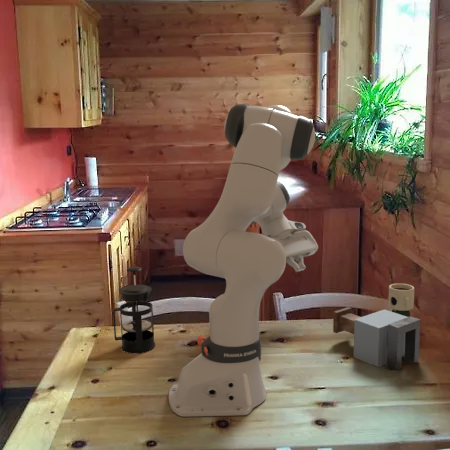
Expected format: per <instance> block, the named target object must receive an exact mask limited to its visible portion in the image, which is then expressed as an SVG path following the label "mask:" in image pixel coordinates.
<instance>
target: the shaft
mask: <svg viewBox="0 0 450 450" xmlns="http://www.w3.org/2000/svg"><path fill="white" fill-rule="evenodd" d="M360 317H361V316H359V315H356V314H354V313H352V307H349V306H348V307H345V308H342V309H337V310H335V311H333V320H332V321H333V323H332V324H333V326H332V330H333V331H332V332H333V333H335V334H339V333H341V332H346V333H350V334H351V335H354V322H355V319H357V318H360ZM387 341H388V331H387Z"/></svg>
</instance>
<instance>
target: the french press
mask: <svg viewBox="0 0 450 450" xmlns="http://www.w3.org/2000/svg"><path fill="white" fill-rule="evenodd" d="M142 270H143V268H142V267H139V266H131V267H128V268H126V272H132V276H133V284H130V285H125V286H123V287H121V288H119V289H118V293H119V294H120V299H121V300H123V301H125V303H123V304H121V305H120V306H119V307H116V308H115V307H114V308H112V319H113V334H114V337H113V338H114V340H115V341H121V347H120V348H121V350H122V351H123V352H124V351H125V352H124V353H127V352H128V353H127V354H133V353H137V354H143V353H142V352H144V353H147V351H148V352H150V351H152V350H153V349H154V348H155V347H156V342H155V332H154V329H155V328H154V312H153V311H154V310H153V303H152V302H150V301H145V300H147V299H148V298H149V296H150V293H151V292H152V289H153V288H152V286H150V285H147V284H136V283H137V282H136V275H137V272H139V271H142ZM139 306H141V307H142V306H143V307H148V308H147V309H143V310H139ZM129 307H131V311H128V310H125V309H126V308H129ZM115 312H119V314H120V315H119V317H120V331H121V336H117V330H116V315H115V314H116V313H115ZM150 313H151V321H150V320H145V319H142V316H145V315H148V314H150ZM122 315H123V316H126V317H131V318H132V320H130V321H127V322H124V323H123V321H122V320H123V319H122V318H123V317H122ZM151 329H152V331H151ZM123 332H125V333H123ZM149 350H150V351H149Z"/></svg>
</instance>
